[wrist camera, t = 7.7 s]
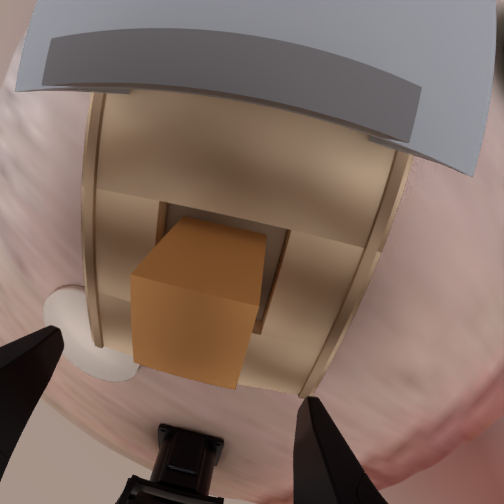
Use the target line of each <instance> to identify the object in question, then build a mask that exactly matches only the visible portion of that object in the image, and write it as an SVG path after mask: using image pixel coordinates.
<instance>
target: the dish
mask: <svg viewBox="0 0 504 504" xmlns="http://www.w3.org/2000/svg"><path fill="white" fill-rule="evenodd" d="M43 318H44V323H45V326H46V327H47V326H50V325H53V326H56V327H58V328H60V329H61V332H62V336H63V340H64V350H63V352H62V354H63V356H64V357H65V358H66V359H67V360H69V361H70V362H71V363H72V364H73V365H75V366H76V367H77V368H79V369H80V370H82V371H83V372H85V373H87V374H89V375H91V376H93V377H95V378H98V379H101V380H105V381H110V382H122V381H126V380H128V379H130V378H131V377H133V376H134V375H135V373H136V372H137V370H138V368H139V366H140V364H137V363H134V361H133V356H131V355H128V354H125V353H122V352H119V351H116V350H114V349H111V348H108V347H105V346H104V347H103V348H99V347H96V346H95V343H94V342H92V337H91V331H90V324H89V318H88V310H87V302H86V293H85V287H81V286H76V285H67V286H62V287H60V288H58V289H57V290H55V291H54V292H53V293H52V294H51V295H50V296H49V297H48V298H47V300H46V302H45V304H44V308H43Z"/></svg>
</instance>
